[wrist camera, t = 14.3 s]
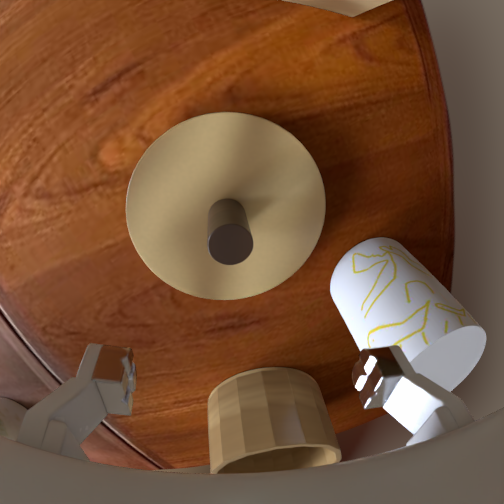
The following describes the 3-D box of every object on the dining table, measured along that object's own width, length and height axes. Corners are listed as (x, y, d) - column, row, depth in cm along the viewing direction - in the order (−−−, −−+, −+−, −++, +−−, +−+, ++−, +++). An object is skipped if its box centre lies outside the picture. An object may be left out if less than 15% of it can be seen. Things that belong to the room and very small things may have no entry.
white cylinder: (401, 222, 25) (491, 303, 14) (412, 289, 29) (479, 372, 18) (318, 263, 26) (379, 371, 15) (342, 325, 30) (391, 425, 19)
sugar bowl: (10, 435, 36) (-8, 499, 23) (-43, 381, 29) (-73, 449, 16) (87, 441, 36) (74, 524, 23) (26, 379, 29) (-9, 477, 16)
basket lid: (335, 125, 21) (372, 137, 16) (302, 293, 27) (320, 338, 22) (131, 107, 18) (104, 112, 13) (134, 287, 25) (120, 333, 20)
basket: (331, 363, 32) (360, 434, 24) (304, 425, 38) (320, 484, 30) (208, 367, 30) (212, 448, 22) (207, 430, 36) (210, 493, 28)
